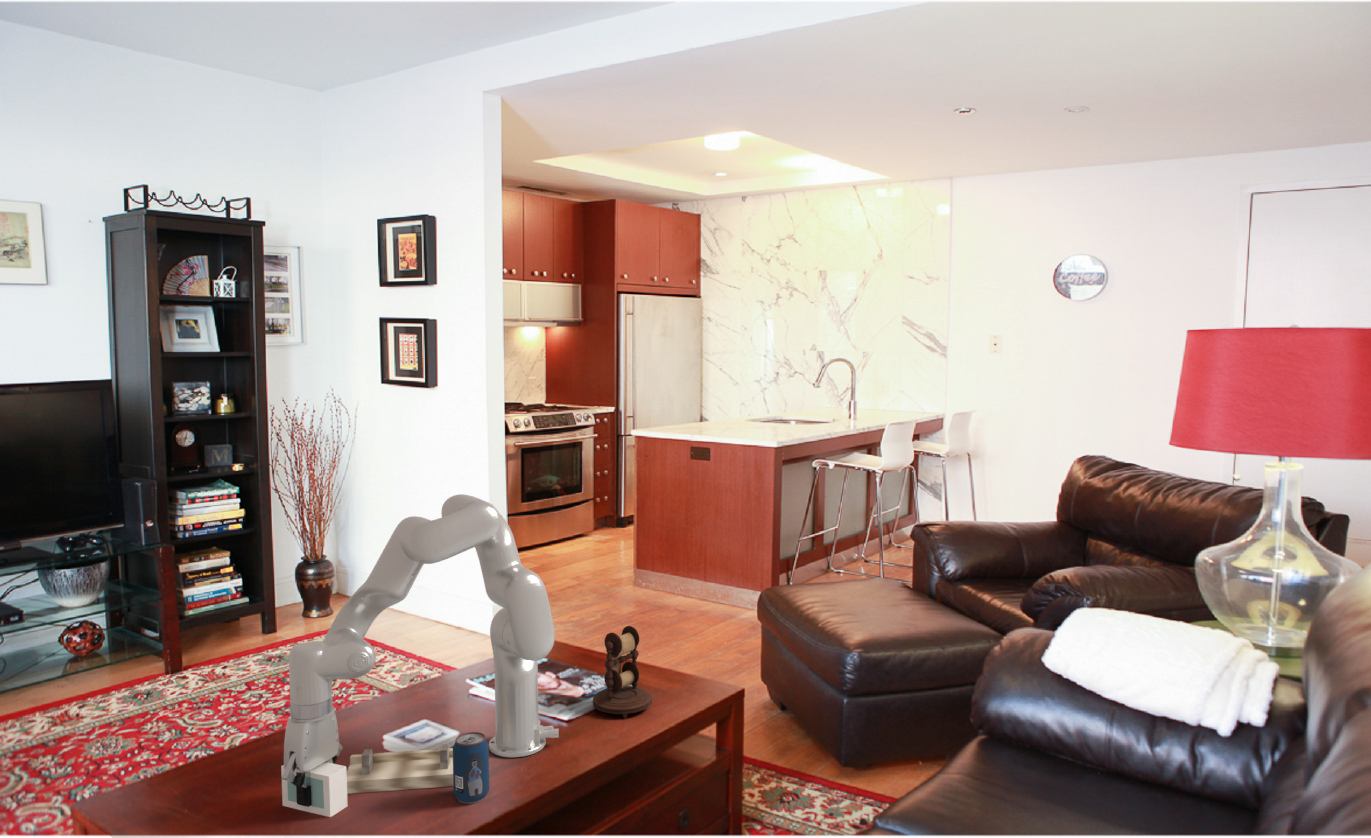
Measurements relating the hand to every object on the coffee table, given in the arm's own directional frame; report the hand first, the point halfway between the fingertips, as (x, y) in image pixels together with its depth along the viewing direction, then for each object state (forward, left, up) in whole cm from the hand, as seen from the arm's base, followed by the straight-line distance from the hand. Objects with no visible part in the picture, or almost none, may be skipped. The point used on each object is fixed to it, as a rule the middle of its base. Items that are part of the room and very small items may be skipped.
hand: (314, 797), depth 171 cm
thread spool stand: (-63, -39, -2) cm, 74 cm away
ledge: (-16, -9, -2) cm, 18 cm away
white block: (0, 0, -2) cm, 2 cm away
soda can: (-30, +1, -2) cm, 30 cm away
